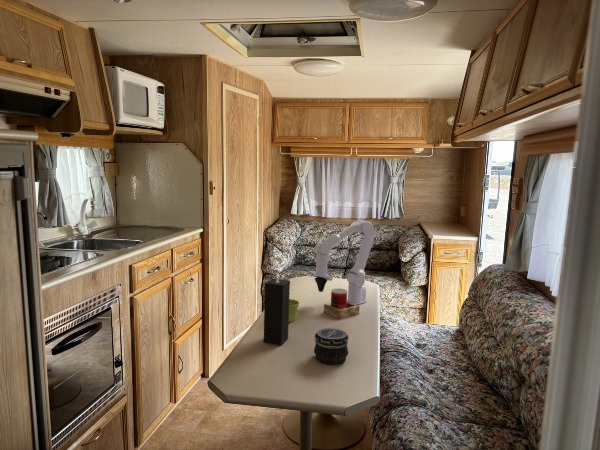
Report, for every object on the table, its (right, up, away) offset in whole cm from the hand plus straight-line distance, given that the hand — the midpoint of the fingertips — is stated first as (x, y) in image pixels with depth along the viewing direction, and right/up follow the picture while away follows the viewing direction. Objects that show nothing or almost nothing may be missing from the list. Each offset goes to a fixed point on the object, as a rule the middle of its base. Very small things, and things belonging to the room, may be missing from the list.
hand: (320, 291), depth 225 cm
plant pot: (-16, -10, -23) cm, 30 cm away
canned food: (+8, -9, -9) cm, 15 cm away
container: (+1, -16, -62) cm, 64 cm away
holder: (+9, -9, -10) cm, 16 cm away
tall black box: (-21, -13, -47) cm, 53 cm away
